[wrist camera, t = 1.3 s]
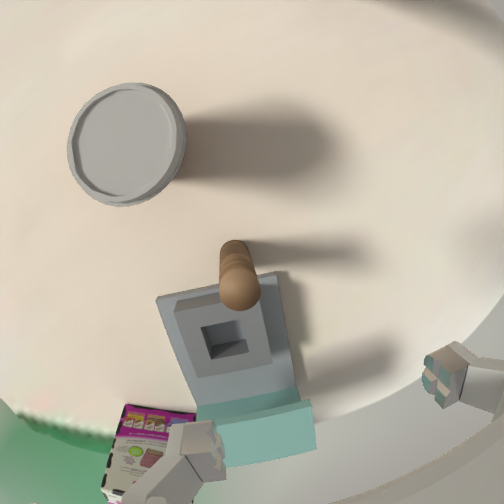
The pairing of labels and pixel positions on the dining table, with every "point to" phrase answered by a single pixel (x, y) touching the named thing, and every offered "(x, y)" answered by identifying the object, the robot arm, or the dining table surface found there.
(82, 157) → the disposable coffee cup
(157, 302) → the socket station
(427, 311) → the dining table surface
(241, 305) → the walnut dowel
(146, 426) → the candy bar box
